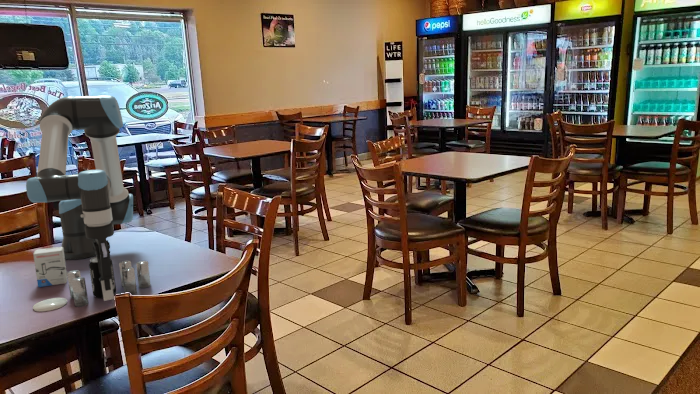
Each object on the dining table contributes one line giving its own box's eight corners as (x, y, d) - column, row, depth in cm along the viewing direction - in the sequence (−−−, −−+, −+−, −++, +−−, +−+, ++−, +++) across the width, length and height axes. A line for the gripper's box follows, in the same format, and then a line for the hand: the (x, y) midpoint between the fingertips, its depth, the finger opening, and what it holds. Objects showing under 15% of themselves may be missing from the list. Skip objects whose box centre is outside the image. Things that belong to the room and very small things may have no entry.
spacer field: (70, 295, 163) (66, 271, 161) (146, 279, 175) (144, 257, 173) (73, 308, 153) (70, 282, 152) (154, 290, 165) (151, 266, 164)
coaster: (32, 304, 157) (32, 302, 157) (65, 296, 162) (65, 295, 162) (33, 314, 150) (33, 312, 150) (68, 306, 155) (68, 305, 154)
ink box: (37, 287, 170) (32, 253, 168) (39, 282, 175) (34, 249, 172) (66, 283, 174) (61, 250, 171) (68, 278, 178) (63, 246, 176)
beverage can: (107, 299, 159) (102, 262, 157) (88, 298, 160) (83, 261, 158) (120, 291, 165) (116, 255, 163) (102, 290, 167) (97, 254, 164)
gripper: (81, 220, 154) (92, 295, 159) (87, 230, 143) (98, 309, 148) (109, 217, 158) (118, 289, 163) (116, 225, 147) (126, 303, 152)
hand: (108, 298), depth 155 cm, fingers closed
